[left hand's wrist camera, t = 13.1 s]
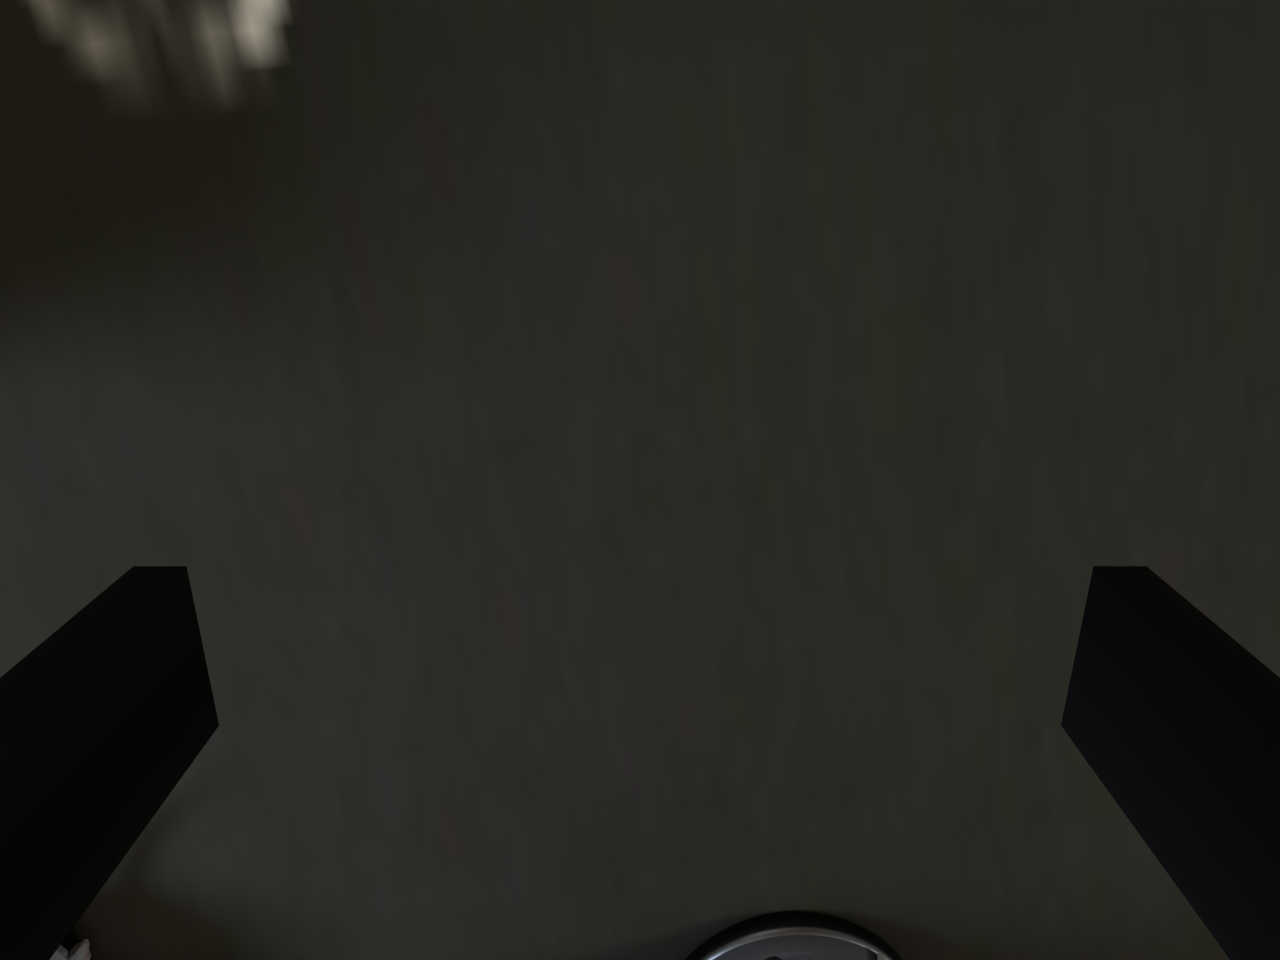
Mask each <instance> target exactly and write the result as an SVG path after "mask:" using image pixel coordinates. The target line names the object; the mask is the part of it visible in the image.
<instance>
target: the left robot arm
mask: <svg viewBox="0 0 1280 960" xmlns="http://www.w3.org/2000/svg"><path fill="white" fill-rule="evenodd" d="M218 726H219V723H218V719H217V714H216V709H215V704H214V699H213V694H212V689H211V684H210V679H209V674H208V670H207V665H206V660H205V655H204V650H203V645H202V640H201V635H200V630H199V626H198V621H197V616H196V611H195V606H194V601H193V596H192V591H191V586H190V582H189V577H188V572H187V567H186V566H133V567H132V568H131V569H130V570H129V571H127V572H126V573H125V574H124V575H123V576H121V577H120V578H119V579H118V580H117V581H115V582H114V583H113V584H112V585H111V586H109V587H108V588H107V589H106V590H105V591H103V592H102V593H101V594H100V595H99V596H98V597H96V598H95V599H94V600H93V601H92V602H90V603H89V604H88V605H87V606H86V607H84V608H83V609H82V610H81V611H80V612H78V613H77V614H76V615H75V616H74V617H72V618H71V619H70V620H69V621H68V622H66V623H65V624H64V625H63V626H62V627H60V628H59V629H58V630H57V631H56V632H54V633H53V634H52V635H51V636H50V637H49V638H47V639H46V640H45V641H44V642H43V643H41V644H40V645H39V646H38V647H37V648H35V649H34V650H33V651H32V652H31V653H29V654H28V655H27V656H26V657H25V658H23V659H22V660H21V661H20V662H19V663H17V664H16V665H15V666H14V667H13V668H11V669H10V670H9V671H8V672H7V673H6V674H4V675H3V676H2V677H1V678H0V960H50V959H51V957H52V956H53V954H54V953H55V952H56V950H57V949H58V948H59V946H60V945H61V943H62V942H63V941H64V939H65V938H66V936H67V935H68V934H69V932H70V931H71V930H72V928H73V927H74V925H75V924H76V923H77V921H78V920H79V918H80V917H81V916H82V914H83V913H84V912H85V910H86V909H87V907H88V906H89V905H90V903H91V902H92V900H93V899H94V898H95V896H96V895H97V894H98V892H99V891H100V889H101V888H102V887H103V885H104V884H105V882H106V881H107V880H108V878H109V877H110V876H111V874H112V873H113V871H114V870H115V869H116V867H117V866H118V864H119V863H120V862H121V860H122V859H123V858H124V856H125V855H126V853H127V852H128V851H129V849H130V848H131V846H132V845H133V844H134V842H135V841H136V840H137V838H138V837H139V835H140V834H141V833H142V831H143V830H144V828H145V827H146V826H147V824H148V823H149V822H150V820H151V819H152V817H153V816H154V815H155V813H156V812H157V810H158V809H159V808H160V806H161V805H162V804H163V802H164V801H165V799H166V798H167V797H168V795H169V794H170V792H171V791H172V790H173V788H174V787H175V786H176V784H177V783H178V781H179V780H180V779H181V777H182V776H183V774H184V773H185V772H186V770H187V769H188V768H189V766H190V765H191V763H192V762H193V761H194V759H195V758H196V756H197V755H198V754H199V752H200V751H201V750H202V748H203V747H204V745H205V744H206V743H207V741H208V740H209V738H210V737H211V736H212V734H213V733H214V732H215V730H216V729H217V727H218ZM1061 726H1062V727H1063V729H1064V730H1065V732H1066V733H1067V734H1068V736H1069V737H1070V738H1071V740H1072V741H1073V743H1074V744H1075V745H1076V747H1077V748H1078V750H1079V751H1080V752H1081V754H1082V755H1083V756H1084V758H1085V759H1086V761H1087V762H1088V763H1089V765H1090V766H1091V768H1092V769H1093V770H1094V772H1095V773H1096V774H1097V776H1098V777H1099V779H1100V780H1101V781H1102V783H1103V784H1104V786H1105V787H1106V788H1107V790H1108V791H1109V792H1110V794H1111V795H1112V797H1113V798H1114V799H1115V801H1116V802H1117V804H1118V805H1119V806H1120V808H1121V809H1122V810H1123V812H1124V813H1125V815H1126V816H1127V817H1128V819H1129V820H1130V822H1131V823H1132V824H1133V826H1134V827H1135V828H1136V830H1137V831H1138V833H1139V834H1140V835H1141V837H1142V838H1143V840H1144V841H1145V842H1146V844H1147V845H1148V846H1149V848H1150V849H1151V851H1152V852H1153V853H1154V855H1155V856H1156V858H1157V859H1158V860H1159V862H1160V863H1161V864H1162V866H1163V867H1164V869H1165V870H1166V871H1167V873H1168V874H1169V876H1170V877H1171V878H1172V880H1173V881H1174V882H1175V884H1176V885H1177V887H1178V888H1179V889H1180V891H1181V892H1182V894H1183V895H1184V896H1185V898H1186V899H1187V900H1188V902H1189V903H1190V905H1191V906H1192V907H1193V909H1194V910H1195V912H1196V913H1197V914H1198V916H1199V917H1200V918H1201V920H1202V921H1203V923H1204V924H1205V925H1206V927H1207V928H1208V930H1209V931H1210V932H1211V934H1212V935H1213V936H1214V938H1215V939H1216V941H1217V942H1218V943H1219V945H1220V946H1221V948H1222V949H1223V950H1224V952H1225V953H1226V954H1227V956H1228V957H1229V959H1230V960H1280V678H1279V677H1278V676H1277V675H1276V674H1274V673H1273V672H1272V671H1271V670H1270V669H1269V668H1267V667H1266V666H1265V665H1264V664H1263V663H1261V662H1260V661H1259V660H1258V659H1257V658H1255V657H1254V656H1253V655H1252V654H1251V653H1249V652H1248V651H1247V650H1246V649H1245V648H1243V647H1242V646H1241V645H1240V644H1239V643H1237V642H1236V641H1235V640H1234V639H1233V638H1231V637H1230V636H1229V635H1228V634H1227V633H1226V632H1224V631H1223V630H1222V629H1221V628H1220V627H1218V626H1217V625H1216V624H1215V623H1214V622H1212V621H1211V620H1210V619H1209V618H1208V617H1206V616H1205V615H1204V614H1203V613H1202V612H1200V611H1199V610H1198V609H1197V608H1196V607H1194V606H1193V605H1192V604H1191V603H1190V602H1188V601H1187V600H1186V599H1185V598H1184V597H1182V596H1181V595H1180V594H1179V593H1178V592H1177V591H1175V590H1174V589H1173V588H1172V587H1171V586H1169V585H1168V584H1167V583H1166V582H1165V581H1163V580H1162V579H1161V578H1160V577H1159V576H1157V575H1156V574H1155V573H1154V572H1153V571H1151V570H1150V569H1149V568H1148V567H1147V566H1094V567H1093V572H1092V577H1091V582H1090V586H1089V591H1088V596H1087V601H1086V606H1085V611H1084V616H1083V621H1082V626H1081V630H1080V635H1079V640H1078V645H1077V650H1076V655H1075V660H1074V665H1073V670H1072V674H1071V679H1070V684H1069V689H1068V694H1067V699H1066V704H1065V709H1064V714H1063V719H1062V723H1061ZM686 960H901V958H900V957H899V956H898V955H897V953H896V952H895V951H894V950H893V949H892V948H891V947H890V946H889V945H888V944H887V943H886V942H885V941H883V940H882V939H881V938H879V937H878V936H876V935H875V934H873V933H872V932H870V931H868V930H866V929H864V928H862V927H860V926H858V925H855V924H853V923H850V922H847V921H844V920H841V919H837V918H833V917H828V916H822V915H815V914H781V915H772V916H766V917H761V918H757V919H753V920H749V921H746V922H743V923H740V924H738V925H735V926H733V927H730V928H728V929H726V930H724V931H722V932H720V933H718V934H716V935H715V936H713V937H712V938H710V939H708V940H707V941H706V942H704V943H703V944H702V945H700V946H699V947H698V948H697V949H696V950H695V951H694V952H693V953H691V954H690V956H689V957H688V958H687V959H686Z"/></svg>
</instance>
